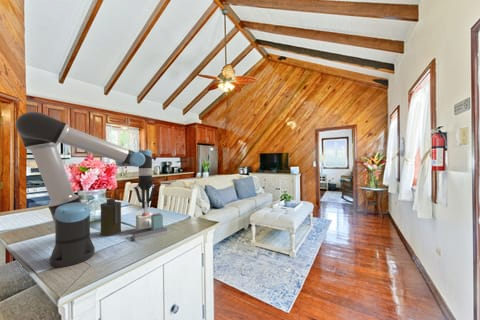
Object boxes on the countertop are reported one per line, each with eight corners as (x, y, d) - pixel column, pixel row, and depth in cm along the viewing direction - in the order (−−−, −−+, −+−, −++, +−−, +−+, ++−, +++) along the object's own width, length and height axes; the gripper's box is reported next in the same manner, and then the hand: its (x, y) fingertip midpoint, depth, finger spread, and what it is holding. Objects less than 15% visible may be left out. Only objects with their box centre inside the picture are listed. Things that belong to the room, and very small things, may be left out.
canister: (96, 234, 114) (96, 199, 114) (115, 228, 123) (114, 196, 123) (107, 237, 109) (107, 201, 109) (125, 231, 118) (125, 198, 118)
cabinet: (139, 233, 115) (139, 218, 115) (135, 229, 122) (135, 214, 122) (155, 229, 121) (155, 215, 121) (151, 226, 128) (151, 212, 128)
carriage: (153, 232, 112) (153, 215, 112) (151, 230, 116) (151, 214, 116) (162, 230, 115) (162, 214, 115) (160, 228, 119) (160, 212, 119)
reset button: (143, 221, 119) (143, 214, 119) (141, 219, 122) (141, 213, 122) (149, 219, 122) (149, 213, 122) (147, 218, 124) (147, 212, 124)
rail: (134, 240, 105) (134, 234, 105) (131, 236, 110) (131, 231, 110) (166, 233, 116) (166, 227, 116) (162, 229, 121) (162, 224, 121)
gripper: (135, 176, 115) (135, 216, 115) (158, 174, 123) (158, 212, 123) (132, 175, 120) (132, 213, 120) (154, 174, 129) (154, 210, 129)
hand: (145, 213), depth 122 cm, fingers closed
